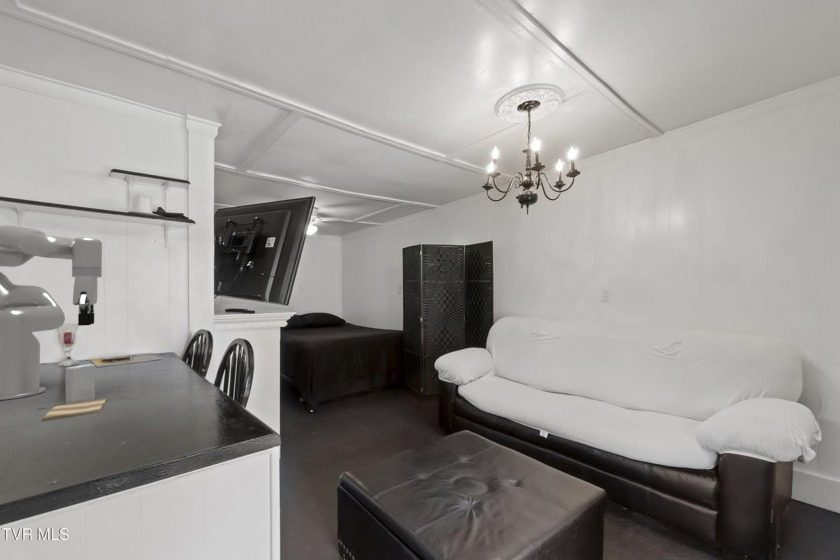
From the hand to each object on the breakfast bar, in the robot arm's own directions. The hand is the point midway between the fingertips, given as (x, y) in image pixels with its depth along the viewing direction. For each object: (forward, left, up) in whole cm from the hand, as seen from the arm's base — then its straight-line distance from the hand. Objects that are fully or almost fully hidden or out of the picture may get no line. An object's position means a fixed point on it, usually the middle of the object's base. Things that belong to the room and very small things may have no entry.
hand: (86, 324), depth 120 cm
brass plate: (+18, +1, -25) cm, 31 cm away
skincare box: (+8, 0, -26) cm, 27 cm away
